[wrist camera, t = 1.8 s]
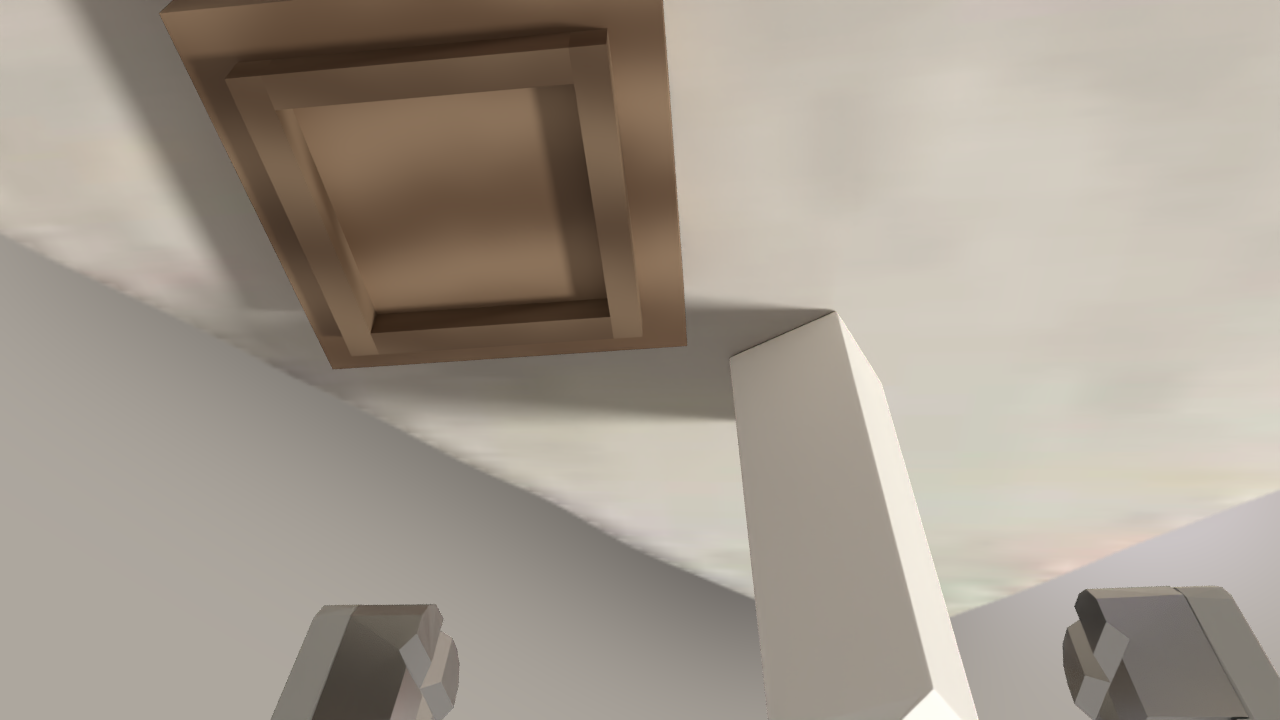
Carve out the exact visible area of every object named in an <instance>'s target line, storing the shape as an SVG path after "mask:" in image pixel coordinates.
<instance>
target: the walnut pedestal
mask: <svg viewBox="0 0 1280 720" xmlns="http://www.w3.org/2000/svg"><path fill="white" fill-rule="evenodd" d="M159 14H160V16H161V18H162V20H163V22H164V25H165V27H166V29H167V31H168V33H169V35H170V37H171V39H172V41H173V43H174V45H175V47H176V49H177V51H178V53H179V55H180V57H181V59H182V61H183V63H184V66H185V68H186V70H187V72H188V74H189V76H190V78H191V80H192V82H193V84H194V86H195V88H196V90H197V92H198V94H199V96H200V98H201V100H202V102H203V104H204V106H205V109H206V111H207V113H208V115H209V117H210V119H211V121H212V123H213V125H214V127H215V129H216V131H217V133H218V135H219V137H220V139H221V141H222V143H223V145H224V147H225V150H226V152H227V154H228V156H229V158H230V160H231V162H232V164H233V166H234V168H235V170H236V172H237V174H238V176H239V178H240V180H241V182H242V184H243V186H244V188H245V190H246V193H247V195H248V197H249V199H250V201H251V203H252V205H253V207H254V209H255V211H256V213H257V215H258V217H259V219H260V221H261V223H262V225H263V227H264V229H265V231H266V234H267V236H268V238H269V240H270V242H271V244H272V246H273V248H274V250H275V252H276V254H277V256H278V258H279V260H280V262H281V264H282V266H283V268H284V270H285V272H286V274H287V277H288V279H289V281H290V283H291V285H292V287H293V289H294V291H295V293H296V295H297V297H298V299H299V301H300V303H301V305H302V307H303V309H304V311H305V313H306V315H307V318H308V320H309V322H310V324H311V326H312V328H313V330H314V332H315V334H316V336H317V338H318V340H319V342H320V344H321V346H322V348H323V350H324V352H325V354H326V356H327V358H328V361H329V363H330V365H331V367H332V369H345V368H361V367H376V366H391V365H406V364H421V363H436V362H451V361H466V360H481V359H496V358H511V357H527V356H542V355H557V354H572V353H587V352H602V351H617V350H632V349H647V348H662V347H677V346H687V335H686V317H685V299H684V283H683V269H682V256H681V242H680V228H679V214H678V201H677V187H676V173H675V160H674V146H673V132H672V119H671V105H670V91H669V78H668V64H667V50H666V36H665V23H664V9H663V0H173V1H172V2H171V3H170V4H168V5H167V6H166V7H165V8H164V9H163V10H162V11H161V12H160V13H159Z"/></svg>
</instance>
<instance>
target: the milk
mask: <svg viewBox="0 0 1280 720" xmlns="http://www.w3.org/2000/svg"><path fill="white" fill-rule="evenodd" d="M729 361H730V371H731V380H732V390H733V399H734V408H735V417H736V427H737V436H738V445H739V455H740V464H741V473H742V482H743V492H744V501H745V510H746V520H747V529H748V538H749V548H750V557H751V566H752V575H753V585H754V594H755V603H756V613H757V622H758V631H759V640H760V650H761V658H762V668H763V678H764V686H765V696H766V705H767V715H768V720H979V719H978V715H977V712H976V708H975V705H974V701H973V698H972V694H971V691H970V688H969V684H968V681H967V677H966V674H965V670H964V667H963V663H962V660H961V656H960V653H959V649H958V646H957V642H956V639H955V636H954V632H953V629H952V625H951V622H950V618H949V615H948V611H947V608H946V604H945V601H944V597H943V594H942V591H941V587H940V584H939V580H938V577H937V573H936V570H935V566H934V563H933V559H932V556H931V552H930V549H929V546H928V542H927V539H926V535H925V532H924V528H923V525H922V521H921V518H920V514H919V511H918V507H917V504H916V500H915V497H914V494H913V490H912V487H911V483H910V480H909V476H908V473H907V469H906V466H905V462H904V459H903V455H902V452H901V449H900V445H899V442H898V438H897V435H896V431H895V428H894V424H893V421H892V417H891V414H890V410H889V407H888V404H887V400H886V397H885V393H884V390H883V386H882V383H881V381H880V380H879V378H878V377H877V375H876V373H875V372H874V370H873V369H872V367H871V365H870V364H869V362H868V361H867V359H866V357H865V356H864V354H863V353H862V351H861V349H860V348H859V346H858V344H857V343H856V341H855V340H854V338H853V336H852V335H851V333H850V332H849V330H848V328H847V327H846V325H845V324H844V322H843V320H842V319H841V317H840V316H839V314H838V313H837V312H833V313H831V314H828V315H826V316H824V317H821V318H819V319H817V320H815V321H812V322H810V323H808V324H806V325H803V326H801V327H799V328H796V329H794V330H792V331H790V332H787V333H785V334H783V335H780V336H778V337H776V338H774V339H771V340H769V341H767V342H764V343H762V344H760V345H758V346H755V347H753V348H751V349H749V350H746V351H744V352H742V353H739V354H737V355H735V356H733V357H731V358H730V360H729Z"/></svg>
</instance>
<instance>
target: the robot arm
mask: <svg viewBox="0 0 1280 720" xmlns="http://www.w3.org/2000/svg"><path fill="white" fill-rule="evenodd" d="M1074 607H1075V609H1076V612H1077V614H1078V616H1079V619H1080V620H1078V621H1077V622H1075V623H1074V624H1072V625H1071V626H1069V627H1068V628H1067V630H1066V634H1065V637H1064V641H1063V666H1064V671H1065V675H1066V679H1067V683H1068V687H1069V689H1070V692H1071V695H1072V698H1073V701H1074V704H1075V705H1076V706H1078V707H1079V708H1080V709H1081V710H1082V711H1083V712H1084V713H1085V714H1087V715H1088V716H1089V717H1090V718H1091V719H1092V720H1280V677H1279V675H1278V674H1277V672H1276V670H1275V669H1274V667H1273V665H1272V663H1271V662H1270V660H1269V658H1268V656H1267V655H1266V653H1265V651H1264V650H1263V648H1262V646H1261V645H1260V643H1259V641H1258V640H1257V638H1256V636H1255V634H1254V633H1253V631H1252V629H1251V628H1250V626H1249V624H1248V623H1247V621H1246V619H1245V617H1244V616H1243V614H1242V612H1241V611H1240V609H1239V607H1238V606H1237V604H1236V603H1235V601H1234V599H1233V597H1232V595H1231V594H1229V593H1228V592H1227V591H1226V590H1224V589H1223V588H1222V587H1218V586H1193V587H1170V586H1158V587H1157V586H1156V587H1131V588H1130V587H1129V588H1106V589H1105V588H1103V589H1085V590H1084V591H1082V592H1081V593H1079V595H1078V598H1077V601H1076V603H1075V606H1074ZM442 622H443V617H442V615H441V613H440V611H439V609H438V607H437V605H436V604H417V605H325V606H323V607H322V608H321V610H320V611H319V612H318V613H317V614H316V616H315V617H314V619H313V620H312V623H311V625H310V628H309V630H308V633H307V635H306V637H305V640H304V642H303V644H302V647H301V649H300V651H299V654H298V656H297V658H296V661H295V663H294V665H293V668H292V670H291V673H290V675H289V677H288V680H287V682H286V685H285V687H284V690H283V692H282V694H281V697H280V699H279V701H278V704H277V706H276V708H275V710H274V713H273V715H272V718H271V720H442V719H443V718H444V717H445V716H446V715H447V714H448V713H449V712H450V711H451V710H452V709H453V708H454V703H455V698H456V694H457V690H458V683H459V658H458V652H457V648H456V645H455V643H454V641H453V638H451V637H450V636H448V635H447V634H445V633H444V632H442V631H440V630H441V626H442Z"/></svg>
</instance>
